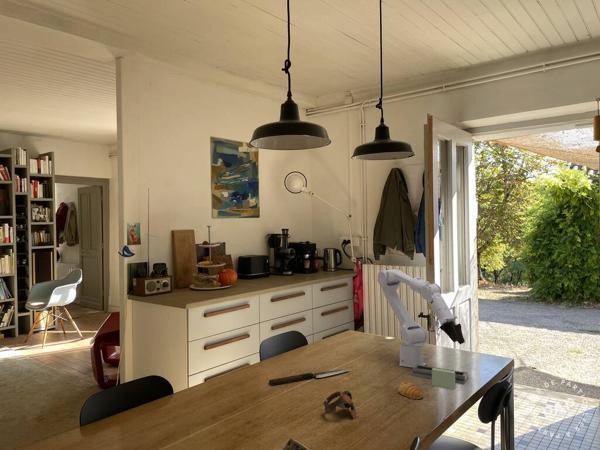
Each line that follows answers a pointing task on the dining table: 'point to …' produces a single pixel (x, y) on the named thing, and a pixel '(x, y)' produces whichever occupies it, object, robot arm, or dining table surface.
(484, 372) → the dining table surface
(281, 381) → the kitchen knife
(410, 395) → the pastry
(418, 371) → the door track
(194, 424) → the dining table surface
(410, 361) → the robot arm
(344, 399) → the brown openwork sculpture
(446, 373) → the door panel
